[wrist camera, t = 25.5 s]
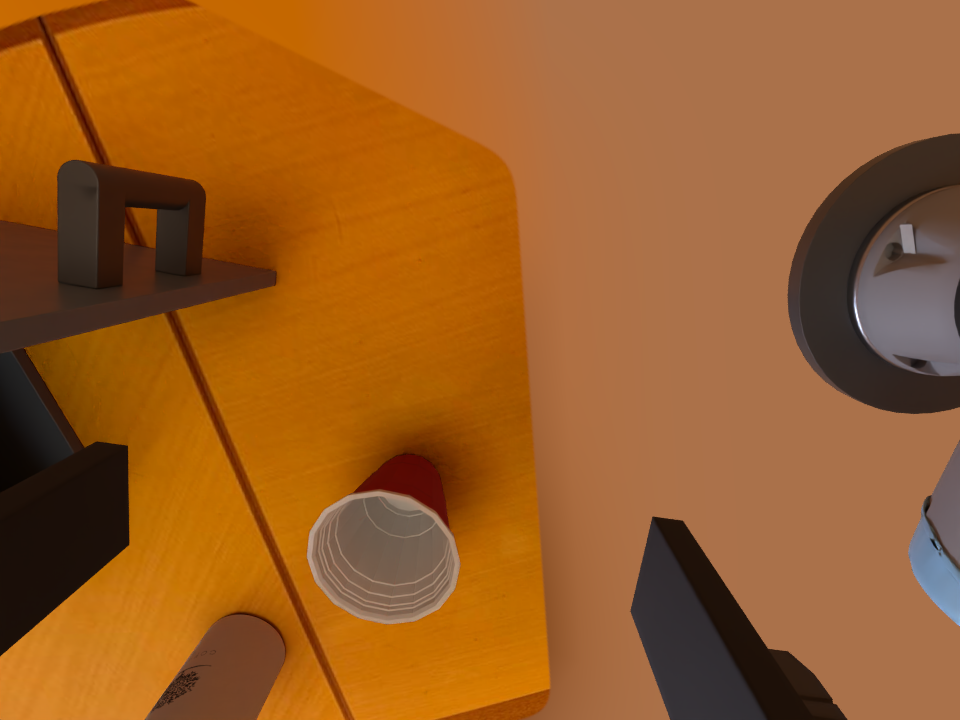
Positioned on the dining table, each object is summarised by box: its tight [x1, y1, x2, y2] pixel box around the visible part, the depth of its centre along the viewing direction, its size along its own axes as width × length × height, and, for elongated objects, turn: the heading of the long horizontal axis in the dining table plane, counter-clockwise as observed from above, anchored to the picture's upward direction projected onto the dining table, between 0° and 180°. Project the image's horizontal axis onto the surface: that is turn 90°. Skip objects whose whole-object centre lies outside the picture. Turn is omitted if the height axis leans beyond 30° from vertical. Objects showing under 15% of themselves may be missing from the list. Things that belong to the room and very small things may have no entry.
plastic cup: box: [307, 454, 460, 624], centre depth 43 cm, size 11×11×12 cm
